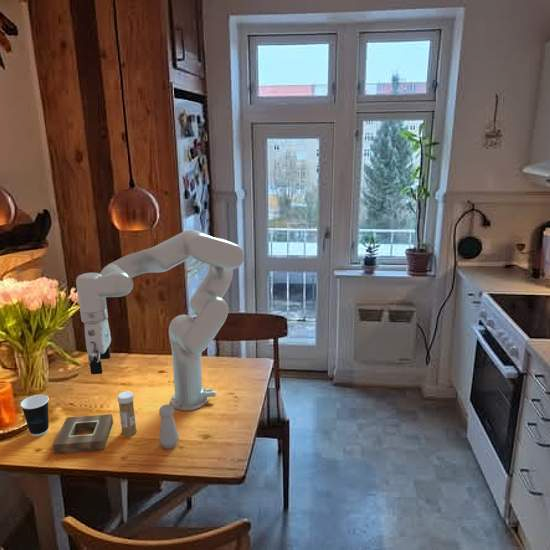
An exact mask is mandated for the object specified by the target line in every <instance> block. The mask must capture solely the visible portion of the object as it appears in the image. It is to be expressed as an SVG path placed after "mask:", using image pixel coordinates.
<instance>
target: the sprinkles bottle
mask: <svg viewBox="0 0 550 550" xmlns="http://www.w3.org/2000/svg"><path fill="white" fill-rule="evenodd" d="M117 402H118V406H119V419H120V425H121V435H123V437H131V436H133V435H135V434H136V432H137V427H136V426H137V425H136V416H135V415H136V414H135V408H134V405H135V404H134V393H133V391H132V392H131V391H127V390H126V391H123V392H120V393H119V394H117Z"/></svg>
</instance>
